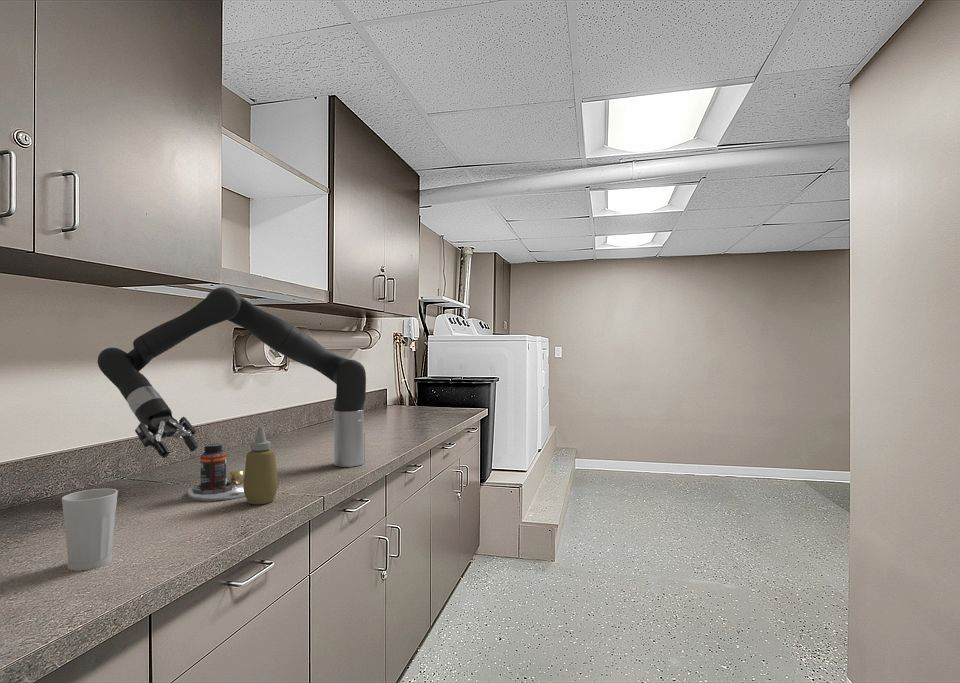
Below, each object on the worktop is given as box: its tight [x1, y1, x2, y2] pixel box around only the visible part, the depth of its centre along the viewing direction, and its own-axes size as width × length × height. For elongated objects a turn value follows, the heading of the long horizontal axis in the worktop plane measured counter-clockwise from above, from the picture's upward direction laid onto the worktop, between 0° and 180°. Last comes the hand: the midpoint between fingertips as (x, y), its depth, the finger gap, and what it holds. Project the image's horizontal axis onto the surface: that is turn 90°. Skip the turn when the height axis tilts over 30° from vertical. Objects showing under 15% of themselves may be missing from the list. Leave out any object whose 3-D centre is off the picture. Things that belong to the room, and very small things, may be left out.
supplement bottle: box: [199, 443, 227, 490], centre depth 141 cm, size 6×6×11 cm
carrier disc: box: [187, 469, 246, 502], centre depth 143 cm, size 16×16×4 cm
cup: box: [61, 488, 119, 572], centre depth 97 cm, size 8×8×12 cm
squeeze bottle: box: [243, 426, 279, 505], centre depth 135 cm, size 8×8×18 cm
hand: (181, 452), depth 145 cm, fingers open, 8 cm apart
